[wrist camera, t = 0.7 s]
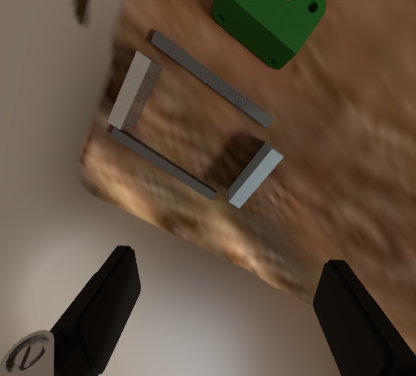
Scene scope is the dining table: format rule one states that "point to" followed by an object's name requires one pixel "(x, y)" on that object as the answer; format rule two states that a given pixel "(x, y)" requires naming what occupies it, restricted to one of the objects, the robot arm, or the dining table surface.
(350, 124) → the dining table surface
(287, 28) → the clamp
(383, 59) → the dining table surface
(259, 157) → the block
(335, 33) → the dining table surface
